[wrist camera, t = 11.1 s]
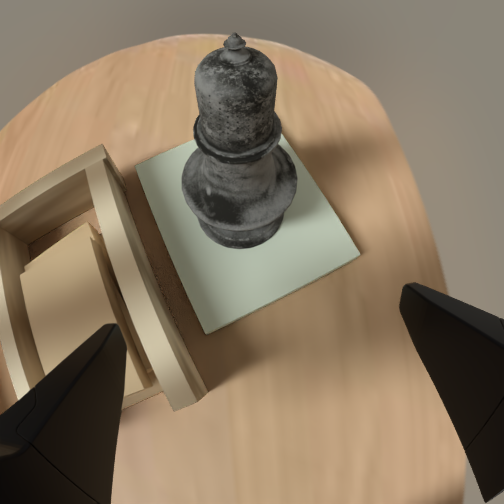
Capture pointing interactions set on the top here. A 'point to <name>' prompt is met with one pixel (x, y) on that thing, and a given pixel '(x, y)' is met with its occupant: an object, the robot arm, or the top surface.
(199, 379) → the birch rack
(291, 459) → the top surface
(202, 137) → the grey rounded tall piece
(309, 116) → the top surface
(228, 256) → the sage mat
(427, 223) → the top surface
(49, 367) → the offcut stack
